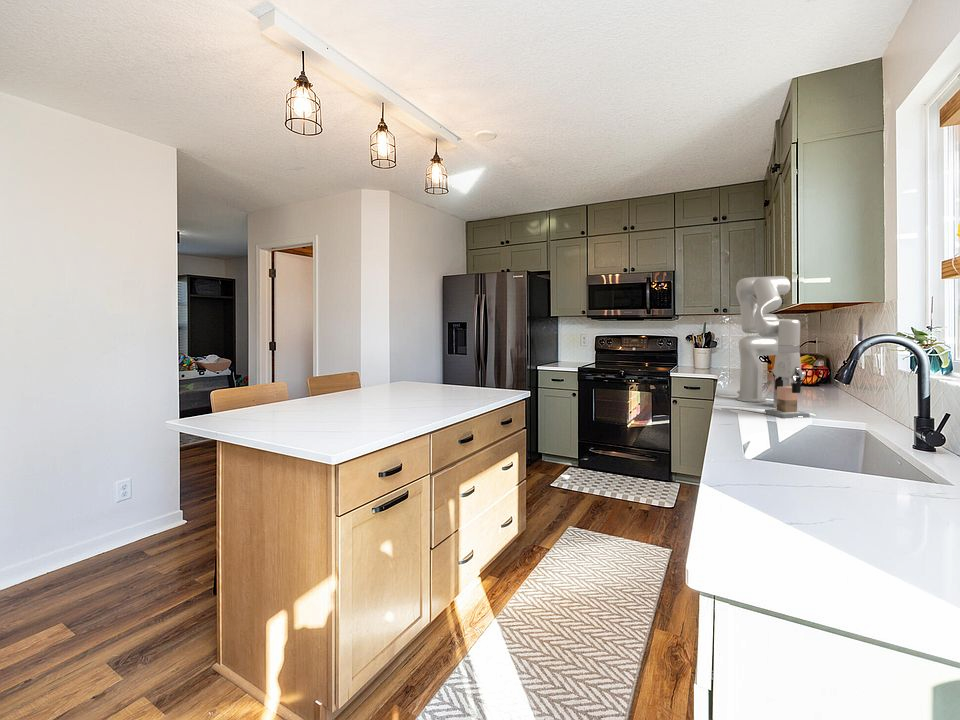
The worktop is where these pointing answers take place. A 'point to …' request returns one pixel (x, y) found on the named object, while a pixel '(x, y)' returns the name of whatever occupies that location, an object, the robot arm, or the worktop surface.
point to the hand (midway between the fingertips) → (787, 391)
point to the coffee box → (785, 383)
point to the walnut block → (786, 405)
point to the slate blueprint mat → (787, 415)
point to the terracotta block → (786, 393)
